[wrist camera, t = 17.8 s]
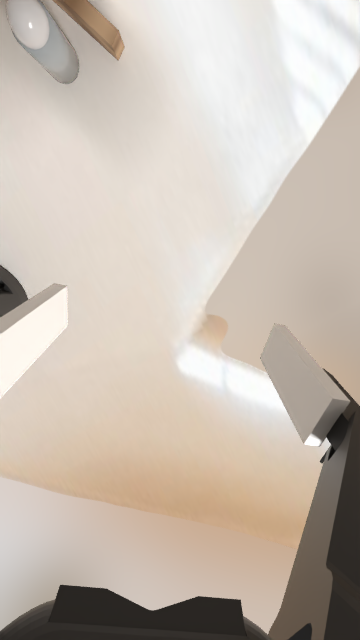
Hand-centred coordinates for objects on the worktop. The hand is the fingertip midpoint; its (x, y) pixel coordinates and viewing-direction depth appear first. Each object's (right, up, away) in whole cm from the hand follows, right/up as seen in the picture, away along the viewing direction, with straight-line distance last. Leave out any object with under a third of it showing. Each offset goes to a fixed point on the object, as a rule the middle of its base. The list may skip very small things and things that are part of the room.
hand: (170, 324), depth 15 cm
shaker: (-14, +32, +14) cm, 38 cm away
